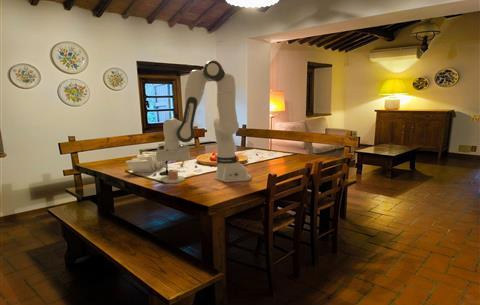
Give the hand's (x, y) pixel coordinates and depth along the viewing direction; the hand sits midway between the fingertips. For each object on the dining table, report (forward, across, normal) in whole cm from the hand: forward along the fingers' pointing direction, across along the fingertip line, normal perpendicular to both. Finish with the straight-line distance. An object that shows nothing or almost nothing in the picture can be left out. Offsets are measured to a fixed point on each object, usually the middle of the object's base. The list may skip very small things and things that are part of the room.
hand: (174, 167), depth 191 cm
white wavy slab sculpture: (+8, +25, -31) cm, 41 cm away
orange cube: (+7, +1, 0) cm, 7 cm away
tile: (+8, +1, 0) cm, 8 cm away
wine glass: (+8, +8, -16) cm, 19 cm away
